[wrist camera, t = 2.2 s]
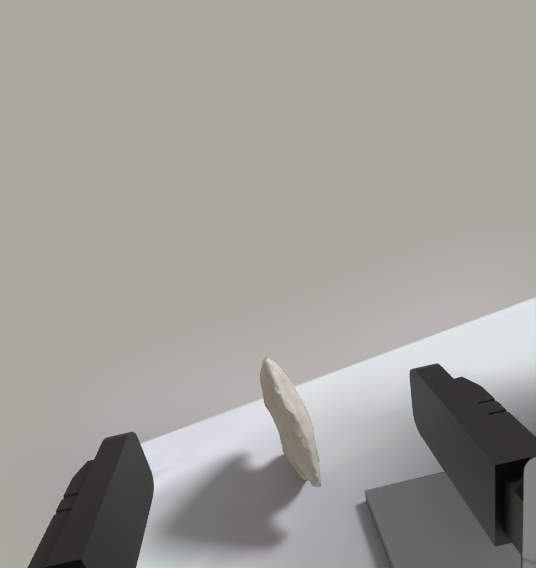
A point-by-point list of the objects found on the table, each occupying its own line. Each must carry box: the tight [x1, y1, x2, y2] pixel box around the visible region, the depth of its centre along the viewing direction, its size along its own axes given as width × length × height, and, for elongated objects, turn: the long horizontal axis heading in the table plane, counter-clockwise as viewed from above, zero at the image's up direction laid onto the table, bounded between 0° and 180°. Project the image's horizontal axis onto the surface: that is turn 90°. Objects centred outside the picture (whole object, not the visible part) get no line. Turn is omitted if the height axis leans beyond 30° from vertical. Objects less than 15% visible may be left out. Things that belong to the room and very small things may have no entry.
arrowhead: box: [260, 357, 321, 487], centre depth 25 cm, size 8×3×10 cm, turn 18°
